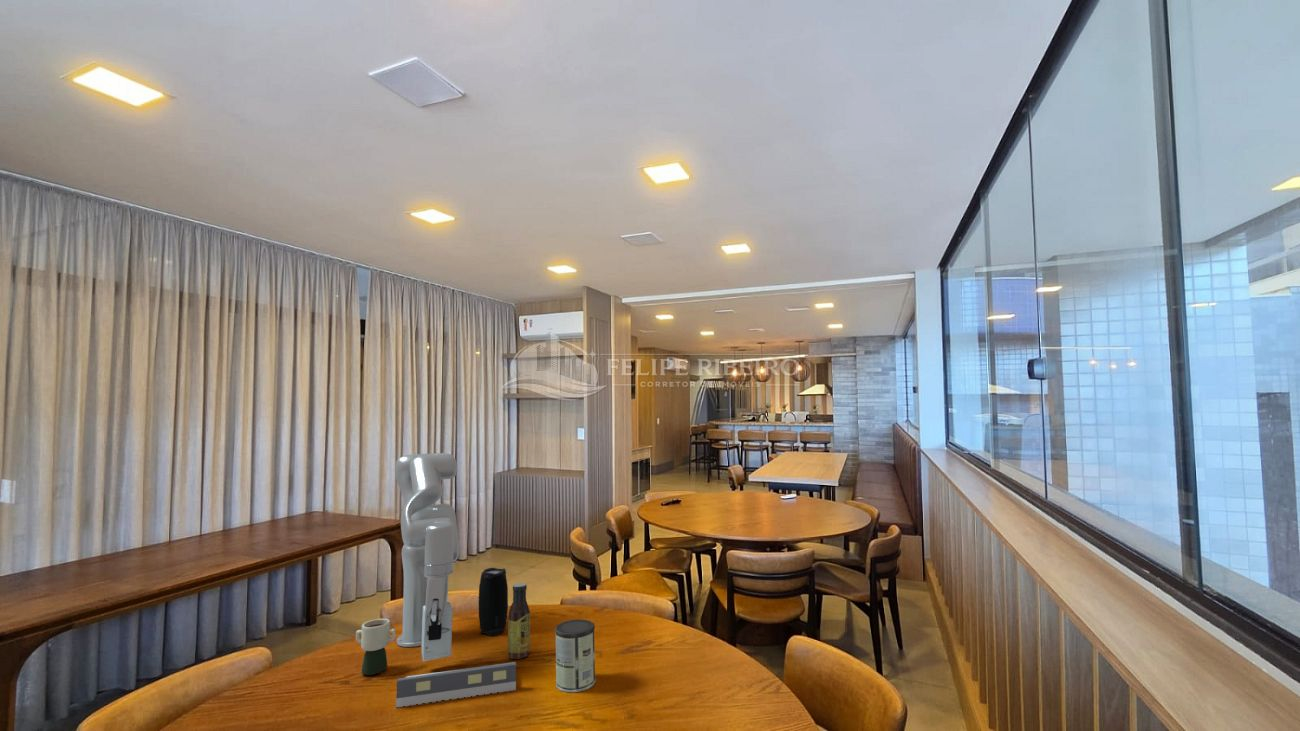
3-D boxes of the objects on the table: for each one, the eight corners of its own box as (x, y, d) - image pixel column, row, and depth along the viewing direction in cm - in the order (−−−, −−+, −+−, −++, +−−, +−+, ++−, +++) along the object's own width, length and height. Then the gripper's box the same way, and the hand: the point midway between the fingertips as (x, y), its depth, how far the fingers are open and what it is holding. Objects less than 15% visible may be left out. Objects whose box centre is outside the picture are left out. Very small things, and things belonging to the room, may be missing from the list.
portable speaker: (480, 628, 176) (481, 567, 178) (509, 626, 177) (509, 566, 180) (476, 638, 168) (476, 574, 170) (506, 635, 169) (506, 572, 171)
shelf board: (405, 684, 138) (405, 675, 138) (515, 669, 145) (515, 661, 145) (395, 707, 126) (396, 697, 126) (515, 689, 133) (515, 680, 133)
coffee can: (567, 671, 142) (566, 617, 144) (601, 676, 139) (601, 620, 141) (547, 689, 133) (547, 631, 134) (584, 695, 129) (583, 635, 131)
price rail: (397, 696, 128) (397, 678, 128) (515, 679, 135) (515, 662, 135) (396, 698, 126) (396, 681, 127) (515, 681, 133) (515, 664, 134)
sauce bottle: (524, 661, 150) (524, 588, 152) (503, 659, 151) (504, 588, 153) (533, 651, 156) (533, 582, 158) (514, 650, 157) (514, 581, 160)
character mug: (400, 665, 149) (401, 617, 151) (388, 677, 142) (389, 626, 144) (361, 666, 149) (363, 618, 150) (347, 678, 142) (349, 628, 143)
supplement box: (422, 662, 140) (424, 613, 142) (420, 651, 147) (422, 605, 148) (451, 656, 144) (453, 609, 145) (449, 646, 150) (450, 600, 152)
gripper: (429, 561, 155) (427, 622, 153) (419, 578, 138) (417, 647, 137) (456, 559, 157) (454, 619, 155) (449, 576, 140) (447, 644, 138)
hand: (437, 632), depth 146 cm, fingers closed on supplement box, 8 cm apart
